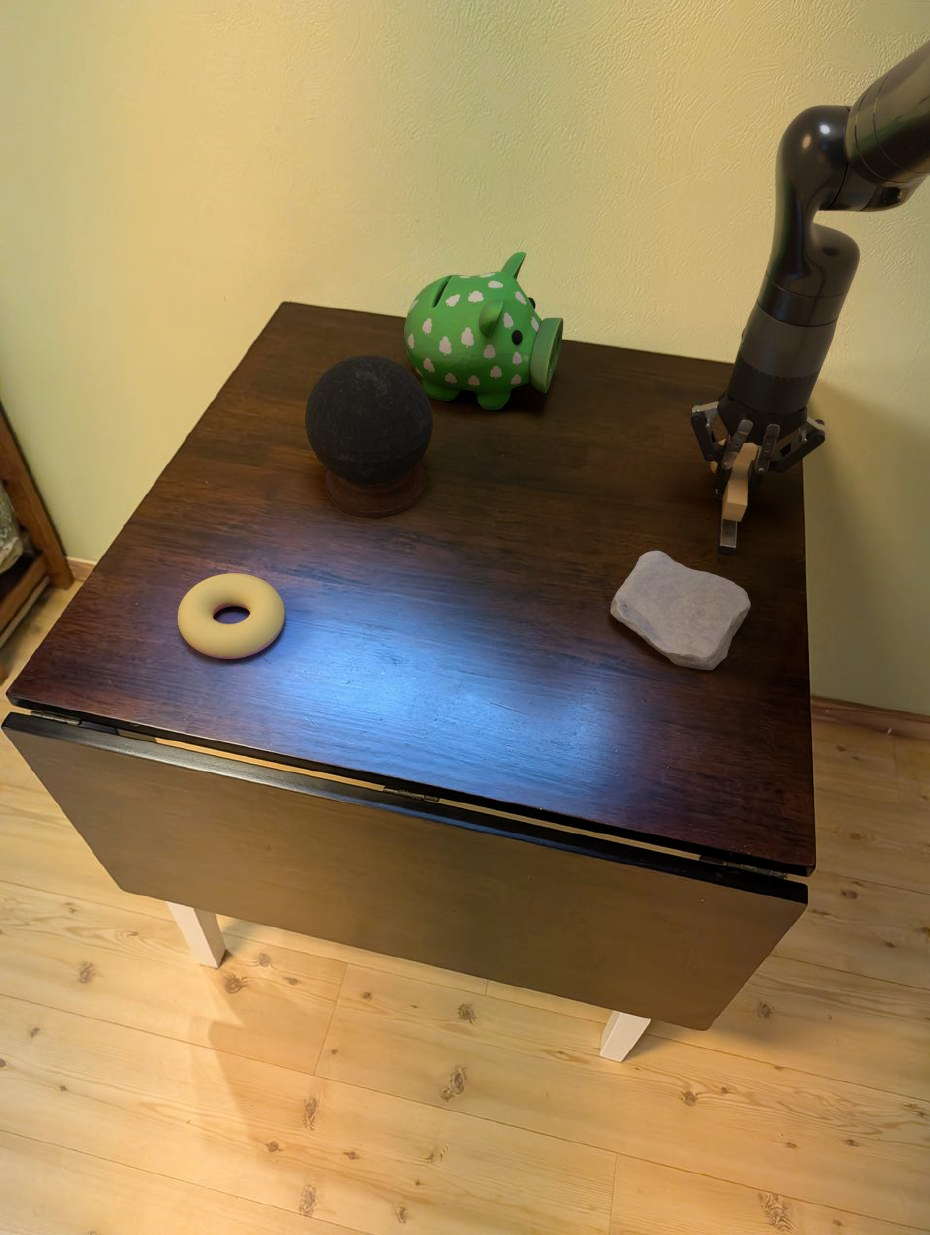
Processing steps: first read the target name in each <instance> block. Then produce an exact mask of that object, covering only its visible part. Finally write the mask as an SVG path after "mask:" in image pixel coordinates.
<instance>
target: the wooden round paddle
mask: <svg viewBox="0 0 930 1235" xmlns="http://www.w3.org/2000/svg"><path fill="white" fill-rule="evenodd" d="M725 440H726V438H724V439H722V440H720V441H719V442H718V443H719V444H721V445H723V444H724V442H725ZM757 447H758V445H756V444H754V443H744V444H743V447H742V449H741V451H740V453H739V454H738V455H737V457H736V459H735V461H734V463H733V470H732V473H731V476H730V479H729V481H728V483H727V486H726V489H725V492H724V495H723V505H722V519H727V520H733V521H737V522H739V523H740V522H742V520H743V518H744V515H745V512H746V509H747V507H748V499H747V497H748V468H749V466H750V463H751V460H754V459H755V457H756V451H757ZM709 465H710V469H711V471H712V473H713V474H714V473H715V470H716V467H717V463H716V462H715V461H712V462H709Z"/></svg>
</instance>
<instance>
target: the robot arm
mask: <svg viewBox="0 0 930 1235" xmlns="http://www.w3.org/2000/svg"><path fill="white" fill-rule="evenodd" d="M774 167H775V168H774V173H775V174H774V187H775V188H774V189H775V190H774V191H775V193H774V194H775V195H774V198H775V202H774V203H775V205H774V211H775V212H774V221H773V222H774V223H773V233H772V241H771V248H770V254H769V257H768V261H767V265H766V268H765V272H764V275H763V278H762V282H761V285H760V288H759V292H758V295H757V298H756V300H755V302H754V305H753V307H752V309H751V311H750V313H749V316H748V318H747V321H746V324H745V327H744V328H743V330H742V333H741V336H740V338H741V339H740V344H739V347H738V350H737V353H736V357H735V360H734V363H733V366H732V370H731V373H730V376H729V380H728V383H727V386H726V388H725V390H724V391H723V392H721V394H719V396H718V398H717V401H713V402H709V403H706V404H705V403H704V402H703V401H701V400H696V401H693V403H692V404H691V410H690V419H689V421H690V422H689V423H690V424H691V427H692V430H693V432H694V435H695V438H696V440H697V443H698V445H699V448H700V451H701V454H702V456H703V459H704V460H705V461H706V462H709V463H710V462H712V461H715V462H716V463H717V467H716V470H715V473H714V472H713V478H712V487H713V490H714V489H717V494H719V495H724V492H725V489H726V486H727V483H728V481H729V479H730V476H731V473H732V470H733V463H734V461H735V459H736V457H737V455H738V454H739V453H740V451H741V449H742V447H743V444H744V443H753V444H755V445H756V446H757V451H756V457H755V459H754V460H751V463H750V466H749V468H748V497H747V500H750V497H751V496H756V495H757V494H758V492H759V490H760V488H761V485H762V482H763V479H764V477H765V475H766V474H767V473H769V472H772V471H775V473H777V474H784V473H786V472H787V471H789V470H790V469H791V468H793V467H794V466H795V465H797V463H799V462H800V461H802V460H803V459H804V458H806V457H807V455H809V454H810V453H812V452H813V451H815V450H816V449H817V448H819V447H820V446H821V445H822V444H823V443H824V442H825V441H826V425H825V421H824V420H823V419H819V418H817V419H813V418H812V417H811V416H809V415H808V406H807V405H808V403H809V401H810V398H811V396H812V393H813V391H814V388H815V385H816V383H817V381H818V379H819V375H820V373H821V371H822V368H823V365H824V363H825V361H826V359H827V355H828V353H829V351H830V348H831V345H832V344H833V343H832V342H833V339H834V337H835V332H836V330H837V329H836V328H837V324H838V320H839V317H840V314H841V312H842V309H843V307H844V304H845V302H846V299H847V297H848V294H849V292H850V289H851V286H852V284H853V281H854V279H855V277H856V274H857V272H858V269H859V268H858V267H859V264H860V260H861V250H860V247H859V245H858V243H857V242H856V240H854V238H852V237H851V236H850V235H848V234H847V233H845V232H843V231H841V230H839V229H835V228H833V227H829V226H826V225H822V224H819V223H817V222H814V219H815V217H816V215H817V212H822V211H823V212H856V213H879V212H885V211H890V210H893V209H896V208H899V207H901V206H904V204H906V203H908V202H909V201H910V199H911V198H912V197H913V195H914V194H915V193H916V191H917V190H918V188H919V187H920V186H921V185H922V184H923V183H924V182H925V180H926V179H927V178H928V177H929V176H930V39H929V40H927V41H926V42H925V43H923V44H922V45H920V46H919V47H918V48H916V49H914V51H912V52H911V53H910V54H908V55H907V56H905V58H903V59H901V60H900V61H899V62H898V63H896V64H894V66H893V67H891V68H890V69H889V70H887V71H886V72H885V73H884V74H882V75H881V76H879V77H878V78H877V79H876V80H874V81H873V82H872V83H871V84H870V85H869V86H868V87H867V88H865V90H864V91H863V92H862V93H861V94H860V95H859V97H858V98H857V99H856V101H855V102H854V103H853V105H840V104H839V105H838V104H837V105H835V104H818V105H813V106H810V107H808V108H805V109H804V110H802V111H801V112H799V113H798V114H797V115H796V116H795V117H794V118H793V119H792V120H791V122H790V123H789V124H788V126H787V127H786V128H785V130H784V131H783V134H782V135H781V138H780V141H779V143H778V146H777V151H776V155H775V166H774ZM716 416H719V418H720V420H721V422H722V425H723V426H724V427H725V430H726V431H727V434H726V438H725V439H726V440H725V442H724V444H723V445H721V444H719V442H718V439H717V436H716V433H715V430H714V428H713V426H714V424H715V420H716V419H715V417H716ZM795 431H797V433H796V434H794V435H793V437H791V438H790V439H789V440H788V441H787V442H785V443H784V444H783V445H782V446H779V448H778V449H777V450H775V447H776V444H777V443H779V442H780V441H781V440H783V439H785V438H786V437H788V436H789V435H791V434H793V433H794V432H795ZM774 451H775V452H774Z"/></svg>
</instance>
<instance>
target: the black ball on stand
mask: <svg viewBox="0 0 930 1235" xmlns="http://www.w3.org/2000/svg"><path fill="white" fill-rule="evenodd" d="M432 409H433V408H432V405H431V402H430V399H429V396H428V394H427V393H426V392H425V389H424V388H423V384H421V382H420V381H419V379H418V378H417V377H416V376H415V374H414V373H412V372H411V371H410V370H409V369H407V368H406V367H405V366H404V365H402V364H401V363H399V362H397V361H396V360H392V359H390V358H387V357H384V356H381V355H372V354H371V355H370V354H363V355H362V354H361V355H356V356H351V357H348V358H346V359H342V360H341V361H338V362H337V363H334V364H333V365H332V366H331V367H329V368H328V369H327V370H326V371H325V372H324V373H323V374H321V376H320V377H319V378H318V379H317V380H316V382H315V383H314V385H313V387H312V389H311V390H310V393H309V396H308V398H307V401H306V407H305V414H304V422H305V424H304V425H305V431H306V435H307V439H308V443H309V445H310V447H311V449H312V451H313V452H314V455H315V456H316V458H317V459H318V461H319V462H320V463H321V464H322V465H323V466H324V467H325V468H326V471H325V474H324V478H323V479H324V480H323V483H324V490H325V494H326V496H327V498H328V499H329V501H330V502H331V504H333V506H335V507H336V508H338V509H339V510H340V511H342V512H344V513H346V514H349V515H352V516H356V517H360V518H368V519H370V518H371V519H373V518H374V519H375V518H385V517H390V516H393V515H396V514H399V513H401V512H404V511H406V510H408V509H409V508H411V507H412V506H413V505H415V504H416V503H417V502H418V501H419V499H420V498H421V497H422V495H423V493H424V492H425V488H426V484H427V482H426V470H425V467H424V466H423V464H422V462H421V461H422V459H423V458H424V455H425V454H426V452H427V451H428V448H429V446H430V442H431V439H432V436H433V427H434V420H433V418H434V417H433V410H432Z"/></svg>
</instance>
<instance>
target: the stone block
mask: <svg viewBox="0 0 930 1235" xmlns="http://www.w3.org/2000/svg"><path fill="white" fill-rule="evenodd" d="M751 606H752V605H751V601H750V599H749V596H748V593H747V591H746V590H745V589H744V588H742V587H741V586H740V585H738V584H736V583H735V582H734V581H732V580H729V579H727V578H726V577H722V576H719V575H717V574H713V573H712V572H708V571H701V570H696V569H692V568H690V567H687V566H685V565H684V564H682V563H680V562H677V561H675V560H674V559H673V558H671V556H669V555H668V554H667V553H665V552H663V551H660V550H651V551H648V552H646V553H644V554H642V555H641V556H639V558H638V560H637V562H636V565H635V566H634V568H633V569H632V571H631V572H630V574H629V575H628V576H627V578H625V580H624V582H623V584H622V585H621V586H620V588H618V590H617V591H616V593H615V595H614V596H613V598H612V600H611V603H610V611H609V613H610V615H612V617H613V618H614V619H616V620H617V621H618V622H620V623H623V624H624V625H625V626H626V627H627V628H629V629H630V630H631V631H632V632H634V633H636V634H637V635H638V636H639V637H641V638H642V639H643V640H644V641H645V642H646V643H647V644H648V645H649V646H651V647H652V648H653V649H655V650H656V651H657V652H658V653H659V654H661V655H663V656H665V657H666V658H667V659H669V660H670V662H671V663H672V664H674V665H676V666H678V667H683V668H691V669H695V670H700V671H701V670H702V671H713V670H714V669H715V668H716V667H717V666H718V665H719V664H720V663H721V662H722V661H724V659H726V658H727V657H728V652H729V649H730V646H731V642H732V639H733V637H734V636H735V635H736V634H737V632H738V630H739V628H741V626H742V624H743V622H744V621H745V619H746V618H747V615H748V612H749V610H750V609H751Z"/></svg>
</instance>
